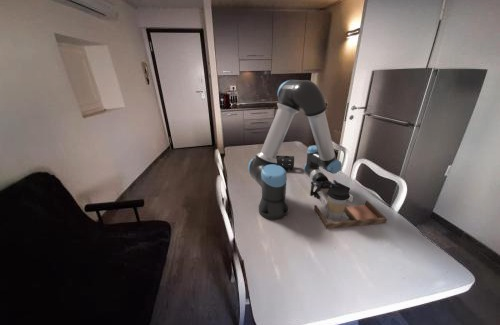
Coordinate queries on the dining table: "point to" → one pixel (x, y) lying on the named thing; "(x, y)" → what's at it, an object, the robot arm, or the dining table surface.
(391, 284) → the dining table surface
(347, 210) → the divided wooden tray
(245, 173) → the dining table surface
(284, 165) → the muzzle brake
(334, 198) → the coffee cup
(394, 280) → the dining table surface
